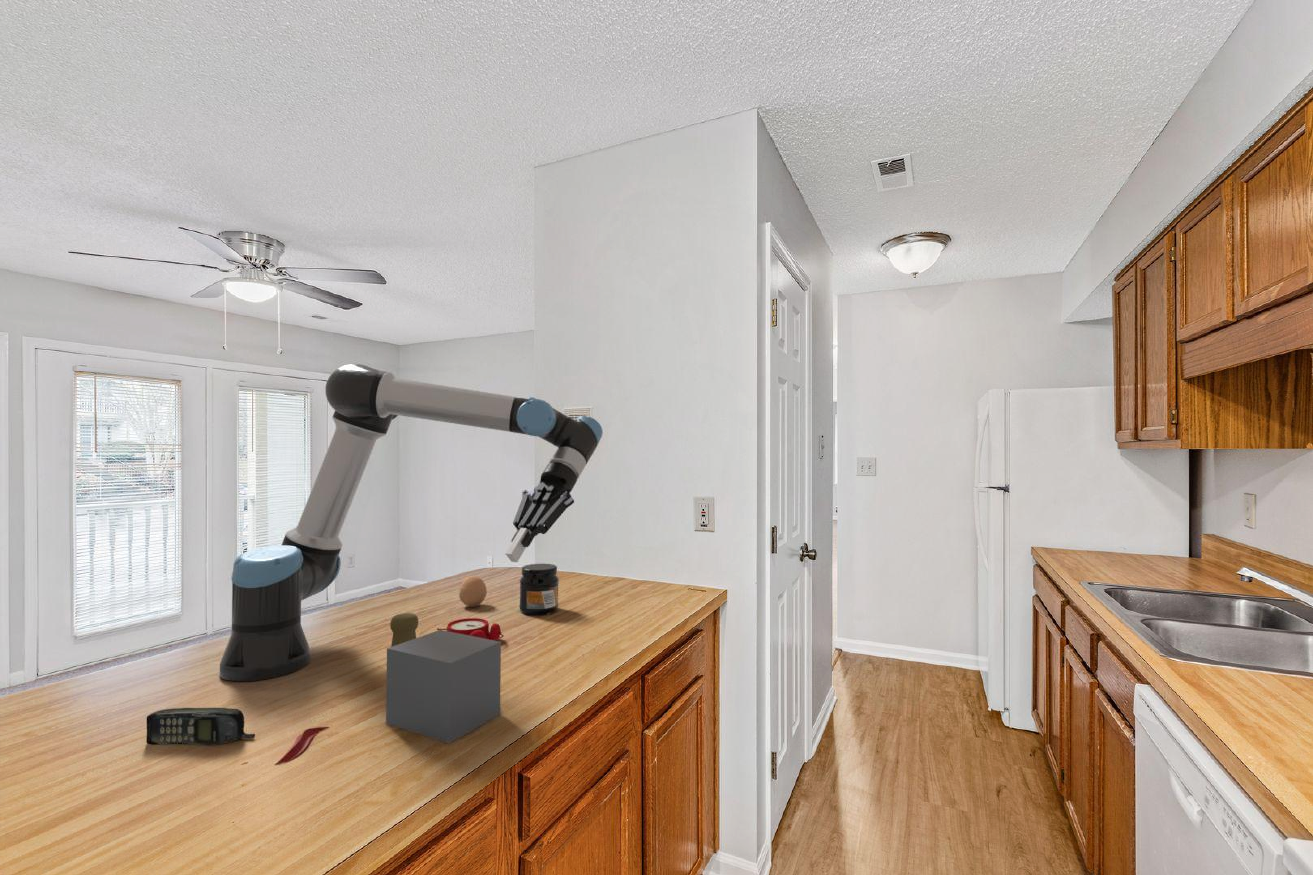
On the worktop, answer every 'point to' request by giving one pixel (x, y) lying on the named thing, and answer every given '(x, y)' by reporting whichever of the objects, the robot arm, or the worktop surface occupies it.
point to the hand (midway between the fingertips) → (511, 557)
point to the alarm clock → (475, 628)
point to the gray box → (443, 684)
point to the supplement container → (539, 589)
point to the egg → (472, 591)
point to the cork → (403, 628)
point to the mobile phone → (195, 726)
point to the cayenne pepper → (300, 744)
